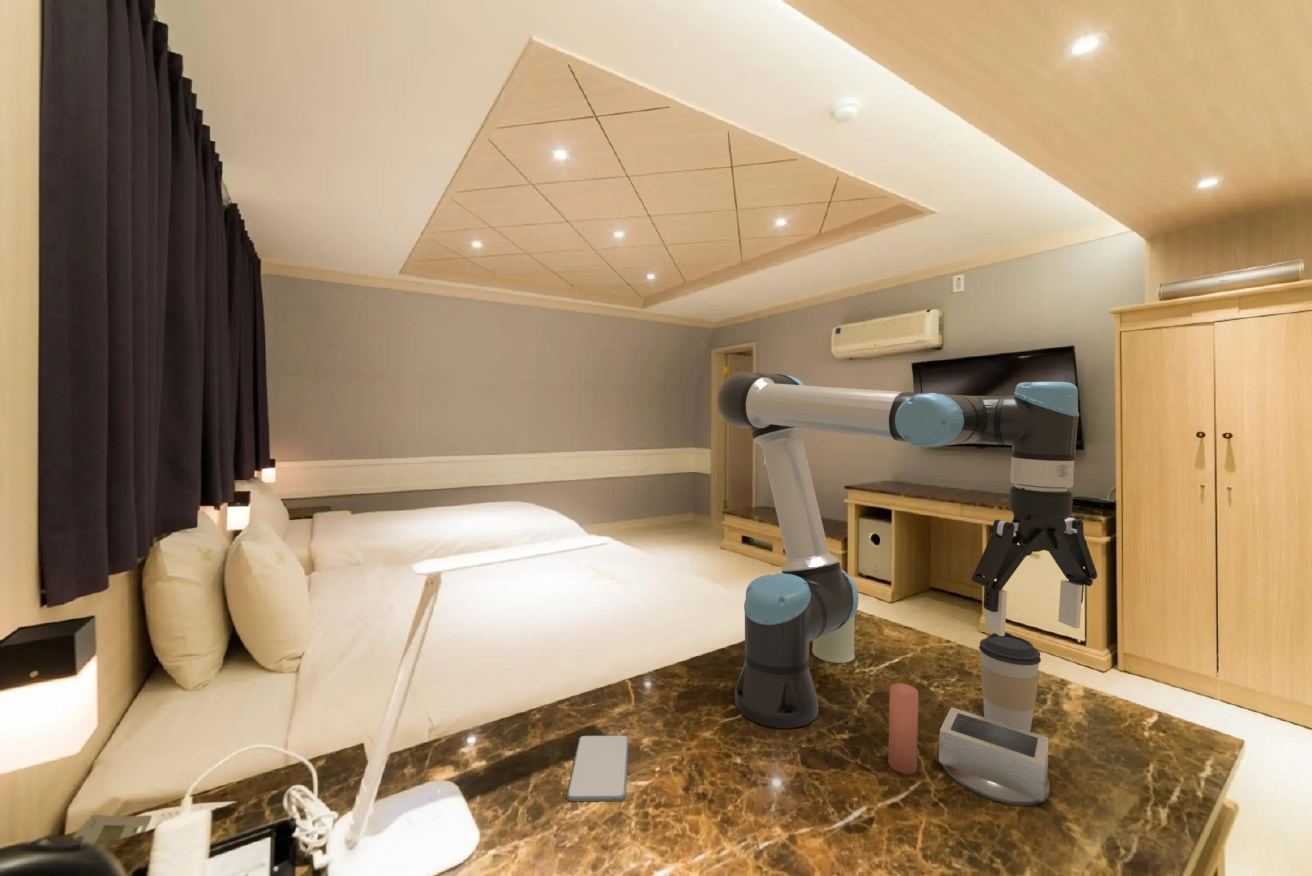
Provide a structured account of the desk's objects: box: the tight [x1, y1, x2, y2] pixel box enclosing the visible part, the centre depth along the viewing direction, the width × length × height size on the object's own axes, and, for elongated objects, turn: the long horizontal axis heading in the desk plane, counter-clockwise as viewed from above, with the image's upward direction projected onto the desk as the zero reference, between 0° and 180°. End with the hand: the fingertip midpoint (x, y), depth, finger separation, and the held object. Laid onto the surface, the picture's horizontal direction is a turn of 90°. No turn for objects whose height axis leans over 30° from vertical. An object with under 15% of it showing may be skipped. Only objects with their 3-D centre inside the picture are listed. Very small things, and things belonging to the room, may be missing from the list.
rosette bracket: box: [938, 707, 1051, 807], centre depth 81 cm, size 14×14×6 cm
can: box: [811, 614, 856, 664], centre depth 121 cm, size 9×9×12 cm
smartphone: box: [566, 735, 630, 802], centre depth 83 cm, size 8×1×15 cm
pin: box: [887, 682, 919, 775], centre depth 82 cm, size 4×4×12 cm
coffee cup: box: [978, 631, 1042, 732], centre depth 94 cm, size 9×9×15 cm
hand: (1032, 628), depth 80 cm, fingers open, 13 cm apart
